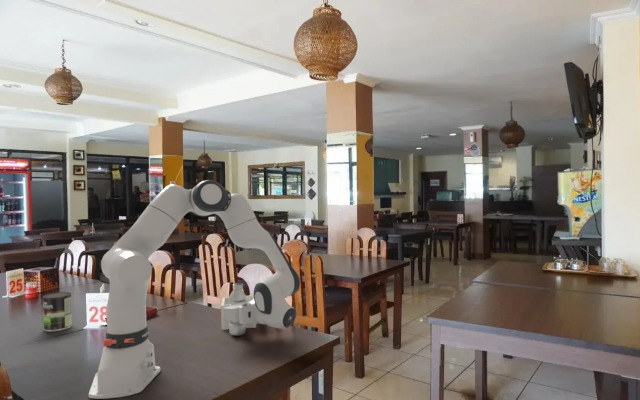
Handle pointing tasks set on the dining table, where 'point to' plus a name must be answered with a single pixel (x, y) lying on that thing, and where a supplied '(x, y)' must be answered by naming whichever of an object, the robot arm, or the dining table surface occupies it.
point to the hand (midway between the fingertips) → (236, 304)
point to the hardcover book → (149, 312)
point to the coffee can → (57, 311)
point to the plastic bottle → (234, 298)
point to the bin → (225, 321)
